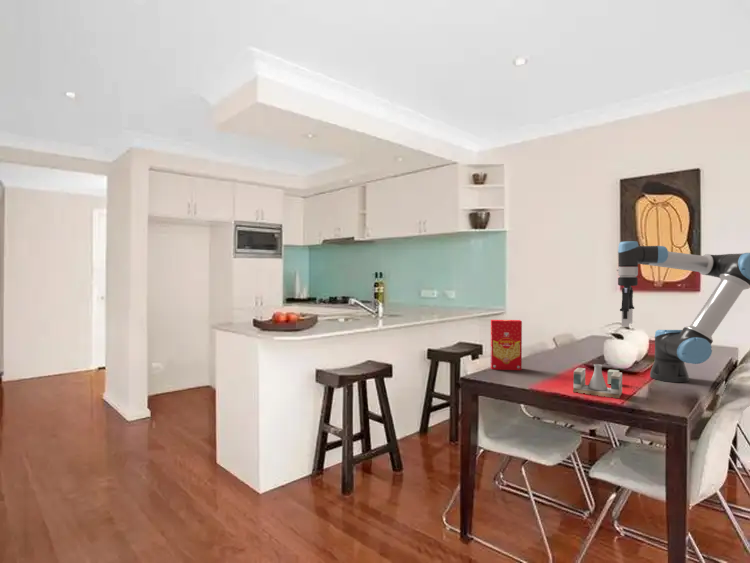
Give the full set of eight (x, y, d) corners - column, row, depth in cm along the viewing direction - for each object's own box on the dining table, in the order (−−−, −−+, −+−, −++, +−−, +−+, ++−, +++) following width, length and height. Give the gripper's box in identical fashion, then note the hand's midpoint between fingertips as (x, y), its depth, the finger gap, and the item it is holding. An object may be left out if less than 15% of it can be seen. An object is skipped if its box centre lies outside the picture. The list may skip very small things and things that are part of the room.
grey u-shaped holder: (622, 393, 187) (622, 372, 187) (619, 398, 179) (619, 377, 179) (577, 386, 197) (578, 367, 197) (573, 392, 189) (573, 371, 189)
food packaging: (491, 369, 232) (491, 320, 231) (490, 367, 237) (490, 319, 237) (521, 370, 230) (521, 321, 229) (519, 368, 235) (520, 320, 234)
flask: (584, 386, 191) (584, 363, 191) (601, 386, 192) (601, 362, 192) (594, 391, 184) (594, 366, 184) (611, 390, 185) (611, 366, 184)
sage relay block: (619, 383, 203) (619, 370, 202) (617, 386, 199) (617, 372, 198) (609, 382, 205) (609, 369, 205) (607, 384, 201) (607, 371, 201)
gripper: (621, 276, 211) (621, 321, 211) (614, 277, 190) (613, 327, 191) (640, 276, 206) (639, 322, 207) (634, 277, 186) (634, 328, 187)
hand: (627, 325), depth 199 cm, fingers open, 13 cm apart
